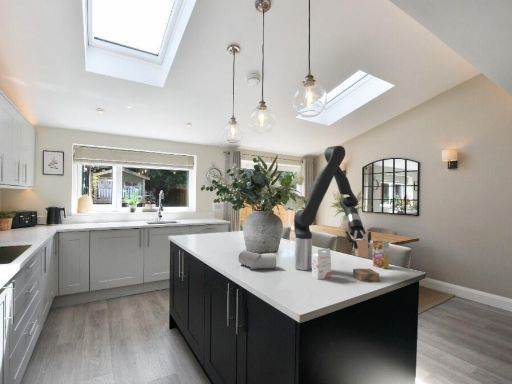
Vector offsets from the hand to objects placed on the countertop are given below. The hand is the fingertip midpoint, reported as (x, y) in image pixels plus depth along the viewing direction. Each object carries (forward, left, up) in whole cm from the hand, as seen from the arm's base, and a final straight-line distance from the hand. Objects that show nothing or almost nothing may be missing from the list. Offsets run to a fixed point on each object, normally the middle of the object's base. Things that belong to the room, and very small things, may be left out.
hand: (362, 248), depth 137 cm
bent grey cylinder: (-56, +11, -14) cm, 59 cm away
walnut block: (0, -6, -14) cm, 15 cm away
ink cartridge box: (-22, -6, -14) cm, 27 cm away
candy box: (+17, +18, -14) cm, 29 cm away
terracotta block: (0, +1, -4) cm, 4 cm away
